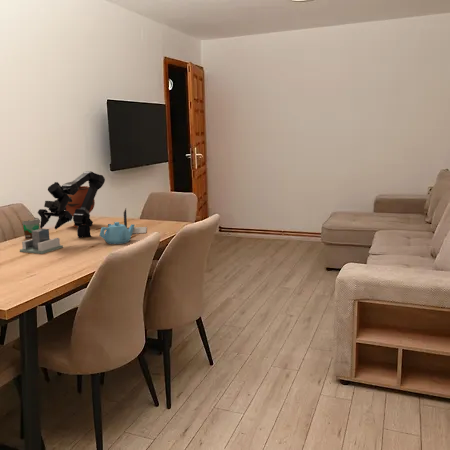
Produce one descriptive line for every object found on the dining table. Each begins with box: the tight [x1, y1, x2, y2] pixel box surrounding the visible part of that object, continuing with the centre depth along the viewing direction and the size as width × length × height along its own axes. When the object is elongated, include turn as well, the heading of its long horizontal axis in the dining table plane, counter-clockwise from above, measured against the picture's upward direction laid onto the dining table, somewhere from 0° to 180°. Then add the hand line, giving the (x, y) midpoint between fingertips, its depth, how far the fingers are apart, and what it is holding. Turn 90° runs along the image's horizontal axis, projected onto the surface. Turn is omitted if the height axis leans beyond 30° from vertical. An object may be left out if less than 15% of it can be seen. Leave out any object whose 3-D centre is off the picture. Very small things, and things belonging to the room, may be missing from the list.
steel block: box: [31, 228, 51, 249], centre depth 239 cm, size 4×7×9 cm, turn 158°
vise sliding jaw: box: [21, 238, 33, 250], centre depth 242 cm, size 13×4×4 cm, turn 158°
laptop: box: [123, 207, 148, 235], centre depth 285 cm, size 18×12×13 cm
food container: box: [22, 217, 41, 239], centre depth 271 cm, size 12×6×10 cm, turn 168°
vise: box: [19, 237, 64, 255], centre depth 240 cm, size 15×14×5 cm
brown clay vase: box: [64, 185, 96, 229], centre depth 300 cm, size 19×19×25 cm
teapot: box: [99, 221, 135, 245], centre depth 256 cm, size 15×15×11 cm
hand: (47, 228), depth 244 cm, fingers open, 9 cm apart
